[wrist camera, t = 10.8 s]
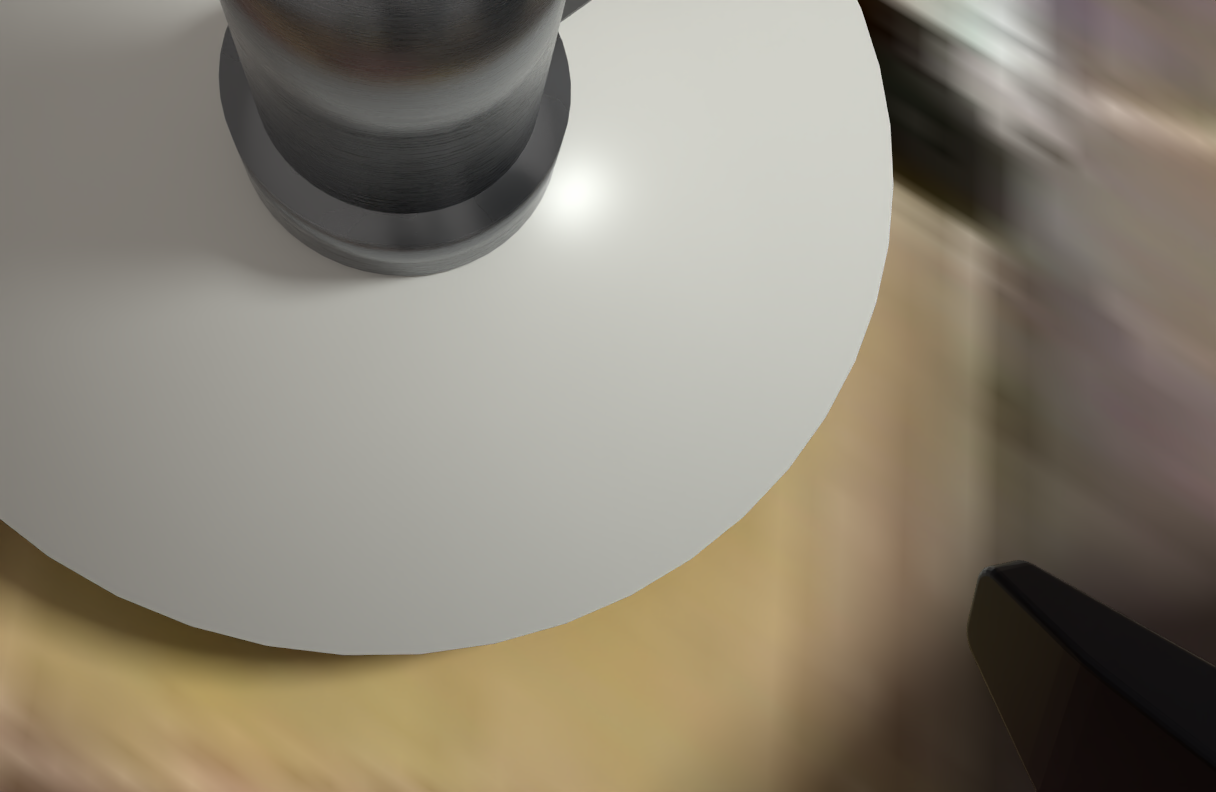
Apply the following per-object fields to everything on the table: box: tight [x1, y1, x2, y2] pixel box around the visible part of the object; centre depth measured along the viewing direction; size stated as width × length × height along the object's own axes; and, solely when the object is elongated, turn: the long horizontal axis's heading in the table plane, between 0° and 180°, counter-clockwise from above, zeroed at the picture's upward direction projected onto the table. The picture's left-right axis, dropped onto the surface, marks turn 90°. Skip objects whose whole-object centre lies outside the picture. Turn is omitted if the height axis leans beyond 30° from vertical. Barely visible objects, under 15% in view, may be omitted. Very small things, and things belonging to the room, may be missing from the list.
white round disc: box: [0, 0, 893, 655], centre depth 23 cm, size 22×22×1 cm
